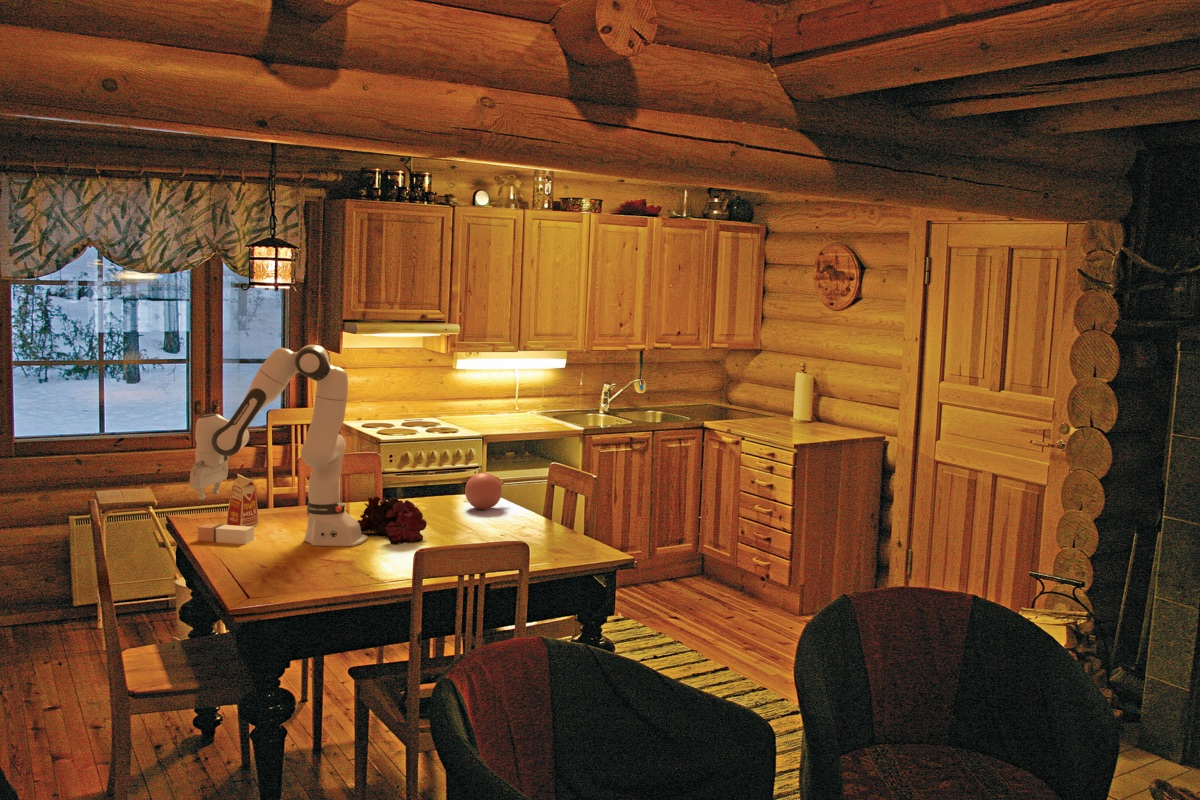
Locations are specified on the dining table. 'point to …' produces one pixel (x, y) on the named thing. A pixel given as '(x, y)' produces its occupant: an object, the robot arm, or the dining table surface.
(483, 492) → the balloon
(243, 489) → the milk carton
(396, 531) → the flower arrangement
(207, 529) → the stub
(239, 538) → the cream rectangular block
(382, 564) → the dining table surface
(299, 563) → the dining table surface
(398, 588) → the dining table surface
